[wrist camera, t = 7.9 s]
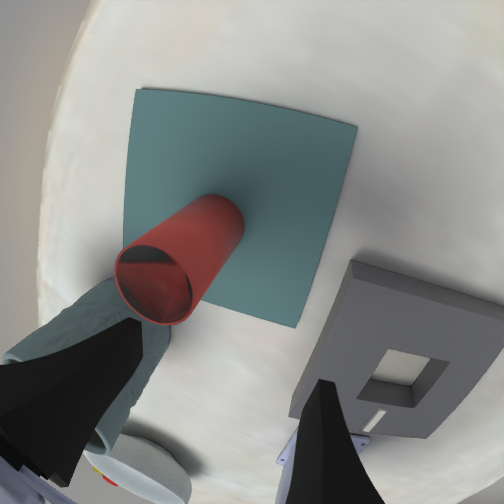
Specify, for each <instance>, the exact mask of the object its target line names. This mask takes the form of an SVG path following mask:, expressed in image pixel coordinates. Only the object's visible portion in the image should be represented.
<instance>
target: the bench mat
mask: <svg viewBox="0 0 504 504" xmlns="http://www.w3.org/2000/svg"><path fill="white" fill-rule="evenodd" d="M356 131H357V127H354V126H350V125H347V124H344V123H340V122H337V121H333V120H329V119H326V118H322V117H318V116H314V115H310V114H306V113H302V112H298V111H293V110H289V109H284V108H280V107H275V106H270V105H265V104H260V103H254V102H249V101H243V100H237V99H231V98H224V97H217V96H210V95H202V94H193V93H184V92H173V91H161V90H145V89H136V92H135V98H134V105H133V112H132V119H131V127H130V135H129V145H128V155H127V166H126V179H125V195H124V220H123V249H124V248H126V247H127V246H128V245H130V244H131V243H132V242H134V241H135V240H137V239H138V238H140V237H141V236H142V235H144V234H145V233H147V232H148V231H149V230H151V229H152V228H154V227H155V226H157V225H158V224H160V223H161V222H163V221H164V220H165V219H167V218H168V217H170V216H171V215H173V214H174V213H176V212H177V211H179V210H180V209H182V208H183V207H185V206H186V205H188V204H189V203H191V202H193V201H194V200H196V199H197V198H199V197H201V196H204V195H208V194H215V195H220V196H223V197H225V198H227V199H229V200H230V201H232V202H233V203H234V204H235V205H236V206H237V207H238V209H239V210H240V212H241V214H242V216H243V220H244V234H243V237H242V240H241V241H240V243H239V244H238V246H237V247H236V249H235V250H234V252H233V253H232V255H231V256H230V257H229V259H228V260H227V262H226V263H225V265H224V266H223V268H222V269H221V270H220V272H219V273H218V275H217V276H216V278H215V279H214V281H213V282H212V284H211V285H210V287H209V288H208V289H207V291H206V292H205V294H204V295H203V297H202V298H201V300H203V301H206V302H209V303H212V304H215V305H218V306H221V307H225V308H228V309H231V310H234V311H237V312H241V313H244V314H247V315H250V316H254V317H257V318H260V319H264V320H267V321H271V322H274V323H277V324H281V325H284V326H288V327H292V328H296V326H297V323H298V320H299V317H300V315H301V312H302V309H303V306H304V303H305V301H306V298H307V295H308V292H309V289H310V286H311V283H312V280H313V277H314V274H315V271H316V268H317V265H318V262H319V259H320V256H321V253H322V250H323V247H324V244H325V241H326V237H327V234H328V231H329V228H330V224H331V221H332V218H333V215H334V211H335V208H336V204H337V201H338V198H339V194H340V191H341V187H342V184H343V180H344V176H345V173H346V169H347V165H348V162H349V158H350V154H351V150H352V146H353V143H354V139H355V135H356Z"/></svg>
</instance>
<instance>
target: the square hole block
mask: <svg viewBox="0 0 504 504" xmlns="http://www.w3.org/2000/svg"><path fill="white" fill-rule="evenodd" d="M503 348H504V307H503V306H500V305H497V304H494V303H490V302H487V301H484V300H481V299H478V298H475V297H472V296H469V295H465V294H462V293H459V292H456V291H453V290H450V289H446V288H443V287H440V286H437V285H433V284H430V283H427V282H424V281H420V280H417V279H414V278H411V277H407V276H404V275H401V274H397V273H394V272H391V271H387V270H384V269H381V268H377V267H374V266H371V265H367V264H364V263H360V262H357V261H354V260H350V263H349V265H348V268H347V271H346V273H345V276H344V279H343V281H342V284H341V286H340V289H339V291H338V294H337V296H336V299H335V301H334V304H333V306H332V309H331V311H330V314H329V316H328V318H327V321H326V323H325V326H324V328H323V330H322V333H321V335H320V337H319V339H318V342H317V344H316V346H315V349H314V351H313V353H312V355H311V357H310V360H309V362H308V364H307V366H306V368H305V370H304V372H303V375H302V377H301V379H300V381H299V383H298V385H297V387H296V389H295V391H294V393H293V395H292V400H291V405H290V410H289V415H288V417H291V418H295V419H300V418H301V414H302V410H303V407H304V406H305V404H306V402H307V400H308V398H309V396H310V395H311V393H312V391H313V389H314V387H315V385H316V383H317V381H318V379H323V380H328V381H332V382H334V383H335V384H336V388H337V393H338V397H339V401H340V404H341V408H342V411H343V415H344V418H345V421H346V424H347V427H348V429H349V430H355V431H361V432H368V433H375V434H383V435H391V436H400V437H411V438H423V439H426V438H427V437H428V436H429V435H431V434H432V433H433V432H434V431H435V430H436V429H437V428H438V427H439V426H440V425H441V424H442V422H443V421H444V420H445V419H446V418H447V417H448V416H449V415H450V414H451V413H452V412H453V411H454V410H455V409H456V407H457V406H458V405H459V404H460V403H461V402H462V401H463V400H464V398H465V397H466V396H467V395H468V394H469V393H470V391H471V390H472V389H473V388H474V386H475V385H476V384H477V383H478V382H479V380H480V379H481V378H482V376H483V375H484V374H485V373H486V371H487V370H488V369H489V367H490V366H491V365H492V363H493V362H494V360H495V359H496V358H497V356H498V355H499V353H500V352H501V351H502V349H503ZM387 349H392V350H396V351H401V352H405V353H410V354H415V355H419V356H424V357H429V358H431V359H430V361H429V362H428V364H427V365H426V367H425V368H424V369H423V371H422V372H421V374H420V375H419V376H418V378H417V379H416V380H415V382H414V383H413V384H412V386H411V387H407V386H401V385H396V384H390V383H385V382H380V381H375V380H370V379H369V378H370V377H371V375H372V374H373V372H374V371H375V369H376V367H377V366H378V364H379V363H380V361H381V359H382V358H383V356H384V354H385V353H386V351H387Z"/></svg>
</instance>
